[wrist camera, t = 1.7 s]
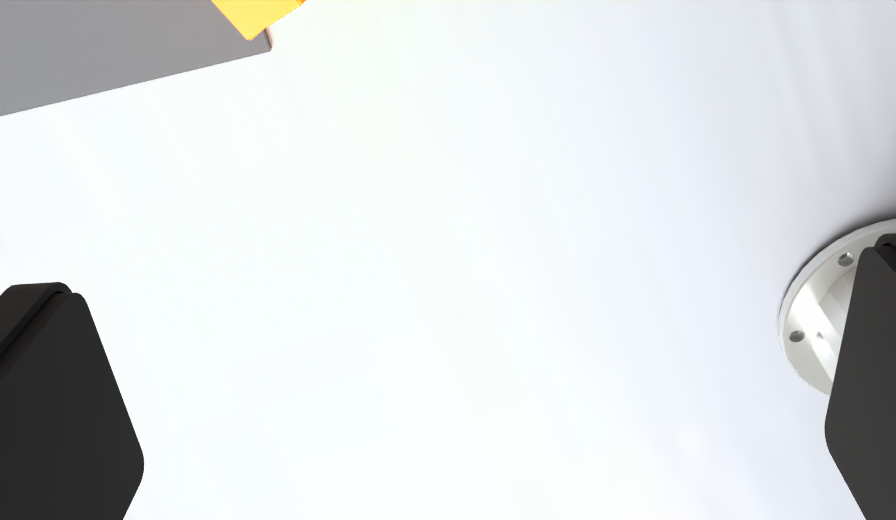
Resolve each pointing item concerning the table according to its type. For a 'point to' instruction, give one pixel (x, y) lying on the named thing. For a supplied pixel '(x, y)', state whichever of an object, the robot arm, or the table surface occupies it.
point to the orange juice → (255, 13)
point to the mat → (108, 46)
